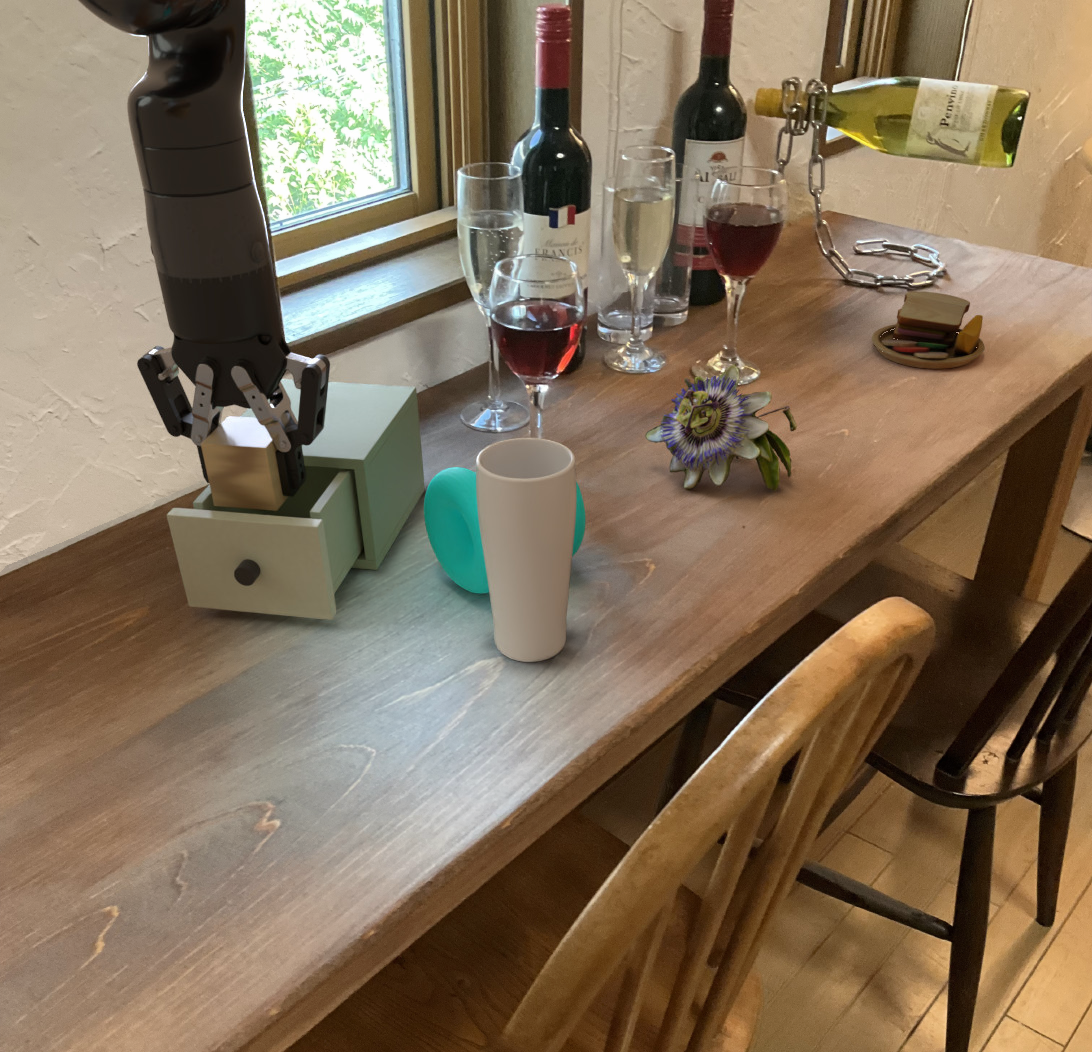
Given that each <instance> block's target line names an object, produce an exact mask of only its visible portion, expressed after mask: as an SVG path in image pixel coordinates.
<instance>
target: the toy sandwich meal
mask: <svg viewBox="0 0 1092 1052" xmlns="http://www.w3.org/2000/svg"><path fill="white" fill-rule="evenodd" d="M970 306H971V302H970V301H969V300H967V299H965V298H962V297H958V296H955V295H950V294H946V293H939V292H934V291H933V292H932V291H908V292H906V293H905V294H904V299H903V304H902V305H901V308H899V309H898V310H897V314H896V324H891V325H887V326H883V327H881V328H879V329H877V330H876V331H875V332H874V333H872V335H871V342H873V343H872V344H873V346H874V345H875V346H876V347H877V348H876V347H875V346H874V347H875V348H876V350H877V351H878V353H879V354H880V355H881V356H882V357H884V358H885V359H887V360H889V361H891V362H894V363H896V364H899V365H902V366H907V367H912V368H918V369H926V370H927V369H928V370H929V369H930V370H944V369H945V370H946V369H954V368H959V367H963V366H965V365H969V363H971V362H973V361H974V360H975V359H976V358H978V357H980V356H981V355H982V354H983V353H984V351H985V348H986V345H985V343H984V341H983V340H982V339H981V338H980V335H981V332H982V328H983V319H984V317H983V315H981V314H976V315H974V317H972V319H970V320H969V321H968V322H967V324H965V325H964V327H963V328H961V326H962V323H963V319H964V317H965V314H966V313H968V312H969V310H970ZM894 328H895V329H894ZM891 329H894V330H891ZM890 330H891V331H890ZM886 331H888V332H886ZM884 332H886V333H884ZM956 332H959V334H958V333H956ZM883 333H884V334H883ZM882 334H883V335H882ZM880 336H881V337H880ZM893 338H895V339H893ZM897 339H898V340H897ZM976 347H977V348H976ZM882 351H883V352H882Z"/></svg>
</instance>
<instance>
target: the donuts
mask: <svg viewBox="0 0 1092 1052" xmlns="http://www.w3.org/2000/svg"><path fill="white" fill-rule="evenodd" d="M425 490H426V491H425V493H424V499H423V518H424V524H425V530H426V534H427V538H428V540H429V543H430V546H431V548H432V551H433V553H434V555H435V557H436V559H437V561H438V563H439V565H440V566H441V569H443V570H444V572H445V573H446V575H447V576H448V577H449V578H450V579H451V580H452V581H453V582H454V583H455V584H456V585H457V586H459V587H460V588H462V589H464V590H465V591H468V592H470V593H473V594H480V595H481V594H489V587H488V580H487V574H486V567H485V561H484V554H483V548H482V541H481V535H480V528H479V520H478V510H477V496H476V471H473V470H471V469H469V468H465V467H460V466H452V467H447V468H444V469H442V470H440V471H439V472H438V473H436V474H435V475H434V476H433V477H432V479H431V480H430V482H429V483H428V486H427V488H426V489H425ZM586 520H587V519H586V509H585V503H584V497H583V495H582V491H581V488H580V485H579V483H578V480H576V521H575V533H574V543H573V553H572V558H573V557H574V556H575V555H576V553H577V552H578V550H579V549H580V547H581V545H582V544H583V540H584V536H585V531H586V523H587V522H586Z"/></svg>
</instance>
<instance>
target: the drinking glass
mask: <svg viewBox="0 0 1092 1052" xmlns="http://www.w3.org/2000/svg"><path fill="white" fill-rule="evenodd" d="M576 467H577V466H576V457H575V454H574V452H573V451H572V450H571V449H570V448H569V447H567V446H566V445H564V444H562V443H560V442H558V441H554V440H550V439H546V438H538V437H516V438H510V439H504V440H500V441H497V442H494V443H492V444H489V445H487V446H486V447H484V449H482V450H481V451H479V453H478V454H477V456H476V459H475V473H476V496H477V510H478V520H479V528H480V535H481V541H482V548H483V554H484V561H485V567H486V574H487V580H488V587H489V593H488V595H489V600H490V607H491V615H492V623H493V640H494V643H495V646H496V648H497V650H498V651H499V652H500V653H501V654H502V655H504V656H505V657H506V658H509V659H511V660H512V661H513V660H514V661H517V662H522V663H523V662H524V663H537V662H542V661H546V660H548V659H551V658H553V657H555V656H556V655H558V653H560V652H561V651H562V650H563V648H564V647H565V645H566V641H567V616H568V605H569V595H570V594H569V592H570V585H571V584H570V583H571V571H572V562H573V557H572V553H573V543H574V533H575V521H576V481H577V468H576Z"/></svg>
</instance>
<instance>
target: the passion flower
mask: <svg viewBox="0 0 1092 1052" xmlns="http://www.w3.org/2000/svg"><path fill="white" fill-rule="evenodd" d="M740 371H741V370H740V368H739V367H738V366H737V364H736V363H734V364H731V365H729V366H727V367H726V368H725V369H724V371H723V372H722V374H720V375H718V376H717V375H712V376H711V377H710V378H709V377H708V376H707V377H706V378H703V377H702V376H699V375H697V376H695V377H694V380H693V382H694V383H692V382H691V379H689V378H688V377H686V378H684V383H685V385H686V386H687V389H685V388H684V387H682V388H681V389H680V391H681V393H678V392H676V393H675V396H677V397H675V398H674V399H673V398H671V402H672V403H674V404H675V405H674V407H673V410H672V411H671V412H670V413H667V414H666V413H665V414H663V415H662V419H661V422H660V424H659V425H657V426H655V427H653V428H651V429H650V430H648V431H647V432H645V435H644V437H645V439H646V441H649V442H650V443H655V444H657V443H664V444H665V446H666V449H667V450H668V451H669V453H670V454H671V455H672V457H671V460H670V462H669V469H668V470H669V473H671V474H672V473H680V472H684V474H685V476H684V479H683V480H684V481H683V489H686V490H691V489H693V488H694V487H696V486H697V485H698V484H699V483H700V482H701V480H702V477H703V475H704V472H705V471H707V472H708V474H709V478H710V481H711V482H712V483H713V484H714V485H715V486H717V487H720V486H722V485H723V484H724V483H726V481H727V480H728V478H729V476H730V471H731V464H732V461H733V460H734V458H735V459H736V460H739V459H740V458H742V459H745V460H747V461H752V460H753V461H754V460H755V461H756V464H757V467H758V470H759V472H760V474H761V477H762V481H763V483H764V485H765V487H766V489H768V490H771V491H772V492H775V491H777V490H778V488H779V485H780V482H781V466H780V462H781V463H782V465H783V467H784V469H785V470H786V472H787V474H786V476H787V478H791V477H792V457H791V451H790V449H789V448H788V446H787V444H786V443H785V442H784V441H783V440H782V438H780V436H778V435H777V434H776V433H774V432H772V430H770V425H769V422H767V421H766V420H763V419H761V418H762V417H764V416H767V415H770V414H773V413H777V412H779V411H782V413H783V414H784V416H785V418H786V419H787V421H788V423H789V430H790V432H795V431H796V430H797V428H798V425H797V423H796V421H795V418H794V416H793V414H792V412H791V409H790V406H787V405H786V406H783V407H779V408H776V409H773V410H770V411H767V412H763V413H762V414H759V415H758V416H757V415H756V413H757V412H759V411H760V410H763V409H764V408H765V407H766V406H768V405H769V404H770V403H771V401H772V398H773V395H772V392H771V391H758V392H757V391H756V392H752V393H748V394H745V393H744V394H743V393H740V394H738V392H739V391H740V389H738V386H739V382H740ZM779 459H780V461H779Z"/></svg>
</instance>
